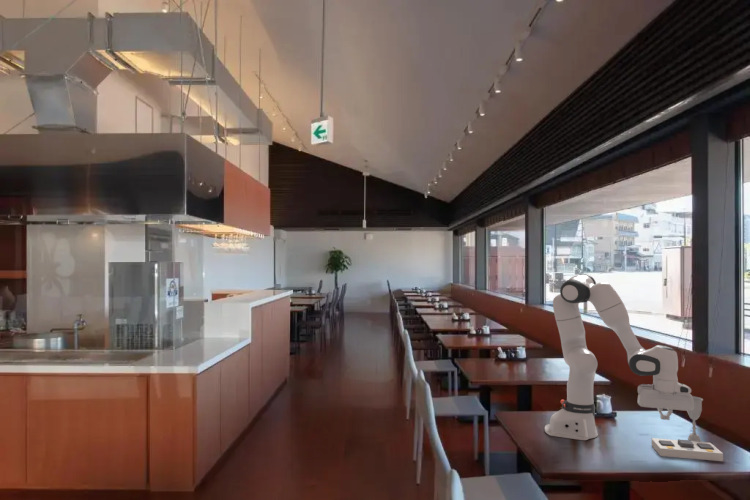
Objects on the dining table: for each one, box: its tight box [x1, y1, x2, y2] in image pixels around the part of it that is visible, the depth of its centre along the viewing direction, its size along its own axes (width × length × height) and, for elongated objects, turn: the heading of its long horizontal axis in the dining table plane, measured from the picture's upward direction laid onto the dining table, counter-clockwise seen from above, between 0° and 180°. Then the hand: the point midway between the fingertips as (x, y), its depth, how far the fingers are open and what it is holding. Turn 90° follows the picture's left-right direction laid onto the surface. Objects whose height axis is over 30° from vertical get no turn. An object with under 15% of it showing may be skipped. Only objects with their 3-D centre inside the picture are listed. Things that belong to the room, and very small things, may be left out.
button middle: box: [677, 438, 694, 448], centre depth 202 cm, size 4×4×2 cm
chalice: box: [686, 395, 704, 442], centre depth 217 cm, size 7×7×18 cm
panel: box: [651, 437, 724, 462], centre depth 202 cm, size 22×12×3 cm, turn 76°
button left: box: [659, 440, 674, 446], centre depth 204 cm, size 4×4×2 cm
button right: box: [697, 443, 714, 450], centre depth 200 cm, size 4×4×2 cm
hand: (664, 419), depth 204 cm, fingers closed
